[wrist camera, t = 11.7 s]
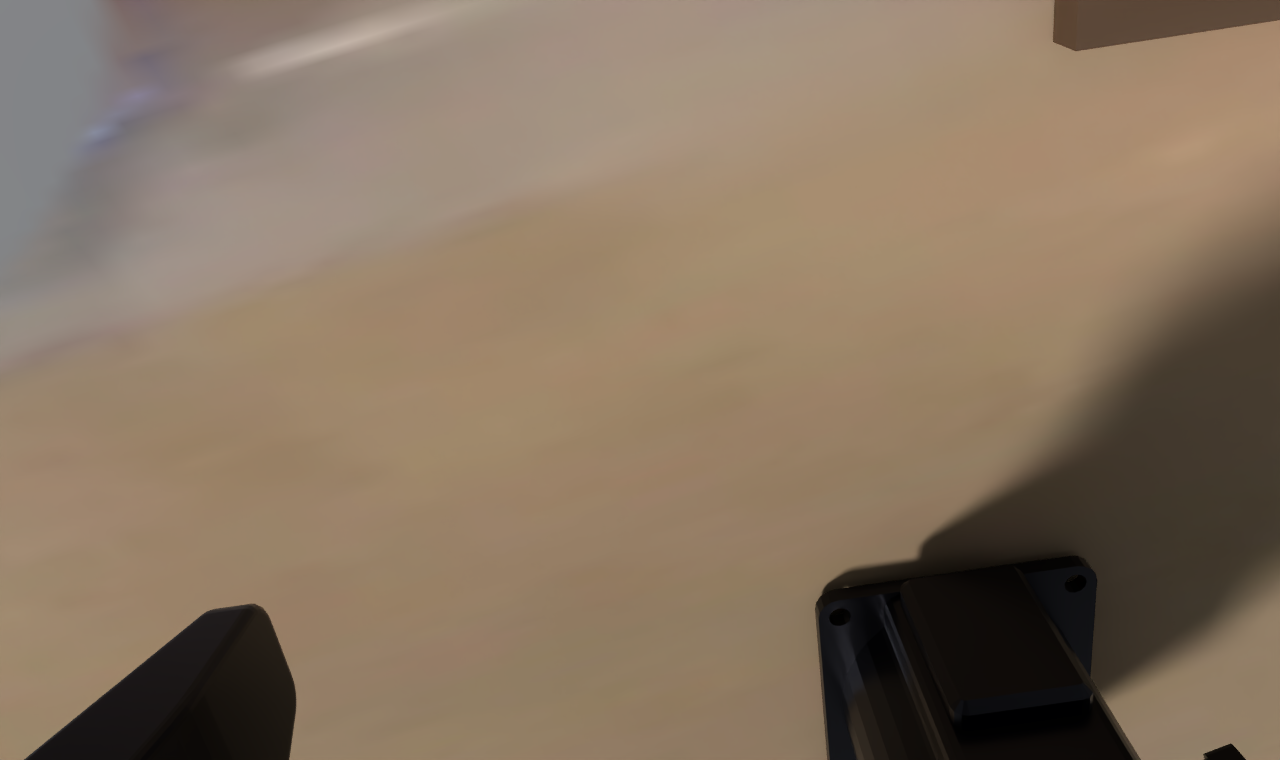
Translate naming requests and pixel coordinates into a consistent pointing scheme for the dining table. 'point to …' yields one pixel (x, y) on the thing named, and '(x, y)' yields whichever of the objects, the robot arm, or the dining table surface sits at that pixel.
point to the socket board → (1150, 19)
